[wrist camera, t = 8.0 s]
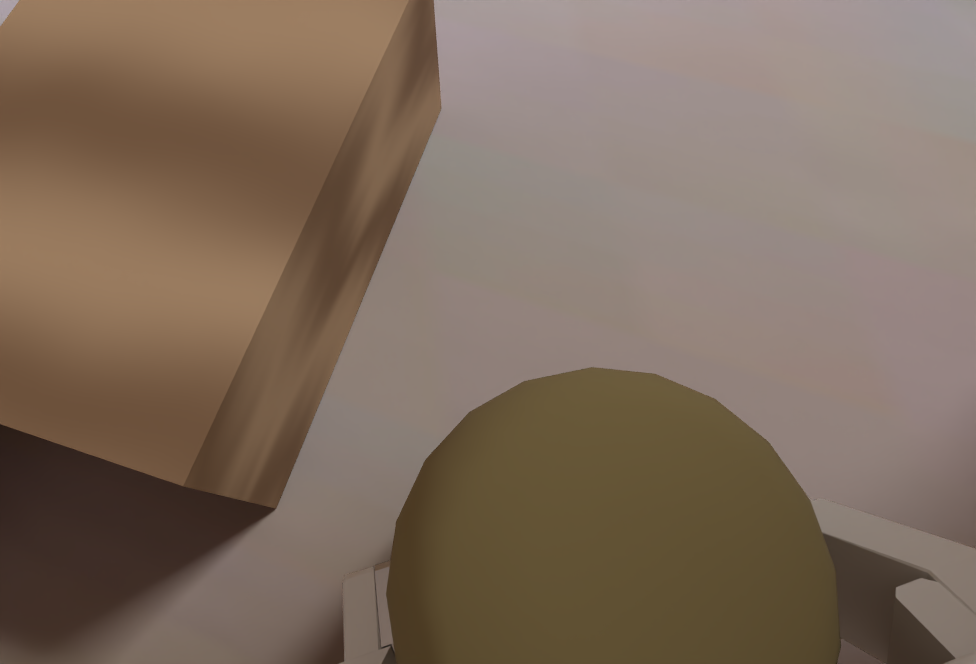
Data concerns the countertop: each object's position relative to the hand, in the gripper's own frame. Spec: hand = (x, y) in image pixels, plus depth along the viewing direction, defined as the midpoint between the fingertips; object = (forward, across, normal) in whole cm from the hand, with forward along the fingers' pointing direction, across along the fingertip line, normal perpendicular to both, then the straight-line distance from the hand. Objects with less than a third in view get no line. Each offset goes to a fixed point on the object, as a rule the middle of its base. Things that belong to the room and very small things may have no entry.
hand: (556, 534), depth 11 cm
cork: (+4, 0, +5) cm, 6 cm away
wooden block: (+13, +6, -3) cm, 15 cm away
